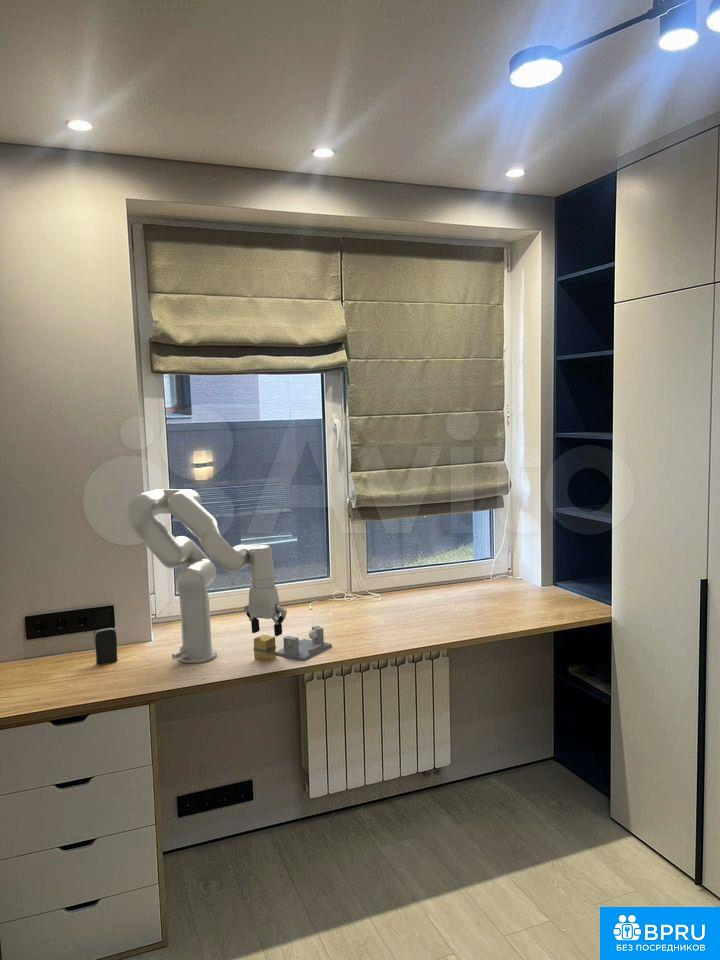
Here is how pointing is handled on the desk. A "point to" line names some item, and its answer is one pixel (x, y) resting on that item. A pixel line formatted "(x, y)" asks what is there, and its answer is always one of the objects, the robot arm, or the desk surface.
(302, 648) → the grey mounting bracket
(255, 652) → the yellow rectangular block
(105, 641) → the battery charger
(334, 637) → the desk surface
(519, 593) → the desk surface
